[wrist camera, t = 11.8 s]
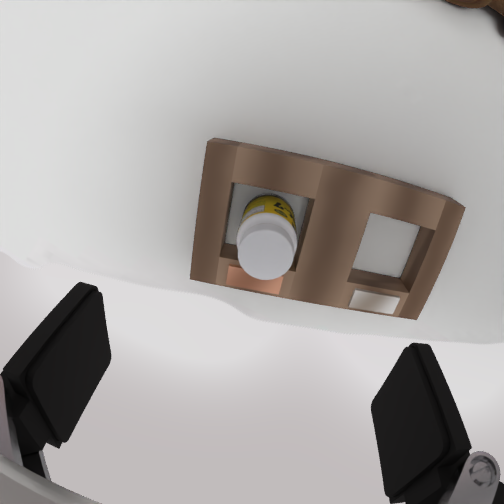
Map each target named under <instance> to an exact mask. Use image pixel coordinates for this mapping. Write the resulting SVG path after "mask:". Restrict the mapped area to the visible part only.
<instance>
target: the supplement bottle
mask: <svg viewBox="0 0 504 504" xmlns="http://www.w3.org/2000/svg"><path fill="white" fill-rule="evenodd" d="M236 242H237V249H238V260H239V263H240V265H241V267H242V268H243V269H244V271H245V272H246V273H248V274H249V275H250V276H252V277H254V278H257V279H261V280H271V279H275V278H278V277H280V276H282V275H284V274H285V273H286V272H287V271H288V270H289V268H290V267H291V265H292V262H293V258H294V254H295V252H296V248H297V233H296V225H295V218H294V213H293V210H292V208H291V206H290V205H289V203H288V202H287V201H286V200H285V199H283V198H282V197H280V196H278V195H274V194H263V195H259V196H257V197H255V198H254V199H252V200H251V201H250V202H249V203H248V205H247V206H246V208H245V211H244V214H243V217H242V220H241V223H240V226H239V229H238V232H237V239H236Z"/></svg>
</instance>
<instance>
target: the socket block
mask: <svg viewBox="0 0 504 504" xmlns="http://www.w3.org/2000/svg"><path fill="white" fill-rule="evenodd" d="M234 183H239V184H245V185H250V186H255V187H260V188H265V189H270V190H275V191H280V192H284V193H289V194H294V195H298V196H303V197H308V198H309V202H308V206H307V210H306V214H305V218H304V222H303V226H302V229H301V233H300V237H299V241H298V245H297V248H296V252H295V256H294V258H293V262H292V265H291V267H290V268H289V270H288V271H287V272H286V273H285V274H284V275H282V276H280V277H278V278H275V279H271V280H261V279H257V278H254V277H252V276H250V275H249V274H248V273H246V272H245V271H244V269H243V268H242V267H241V265H240V263H239V260H238V249H237V246H236V245H231V244H226V243H225V237H226V231H227V225H228V219H229V213H230V207H231V201H232V195H233V189H234ZM465 208H466V207H464V206H463V205H461V204H460V203H458V202H457V201H455V200H454V199H452V198H450V197H447V196H445V195H442V194H439V193H436V192H433V191H430V190H427V189H424V188H421V187H418V186H415V185H412V184H409V183H406V182H402V181H399V180H396V179H393V178H389V177H386V176H383V175H379V174H376V173H372V172H369V171H365V170H361V169H358V168H354V167H350V166H346V165H343V164H339V163H335V162H331V161H327V160H323V159H319V158H314V157H310V156H306V155H301V154H297V153H292V152H288V151H283V150H278V149H273V148H268V147H263V146H258V145H253V144H247V143H242V142H236V141H230V140H224V139H218V138H213V139H211V140H209V141H207V146H206V153H205V159H204V166H203V173H202V180H201V188H200V195H199V203H198V211H197V219H196V227H195V235H194V244H193V253H192V263H191V273H190V279H191V280H196V281H201V282H206V283H210V284H215V285H220V286H225V287H230V288H235V289H240V290H245V291H250V292H255V293H260V294H266V295H271V296H276V297H281V298H287V299H292V300H298V301H303V302H309V303H314V304H320V305H326V306H332V307H338V308H343V309H349V310H355V311H362V312H368V313H374V314H380V315H387V316H393V317H400V318H407V319H414V320H417V318H418V317H419V315H420V313H421V311H422V309H423V307H424V305H425V303H426V301H427V299H428V297H429V295H430V293H431V291H432V288H433V286H434V284H435V282H436V280H437V278H438V275H439V273H440V271H441V269H442V266H443V264H444V262H445V260H446V257H447V255H448V252H449V250H450V248H451V245H452V243H453V240H454V238H455V235H456V232H457V230H458V227H459V224H460V222H461V219H462V216H463V213H464V211H465ZM370 213H374V214H378V215H382V216H386V217H390V218H393V219H397V220H401V221H405V222H408V223H412V224H415V225H419V226H421V227H420V230H419V233H418V235H417V238H416V241H415V243H414V246H413V248H412V251H411V254H410V256H409V259H408V261H407V264H406V266H405V268H404V271H403V273H402V276H401V278H396V277H391V276H386V275H381V274H376V273H371V272H366V271H361V270H356V269H352V266H353V263H354V260H355V257H356V254H357V252H358V249H359V246H360V243H361V240H362V237H363V234H364V231H365V228H366V225H367V221H368V218H369V215H370Z"/></svg>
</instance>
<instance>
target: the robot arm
mask: <svg viewBox="0 0 504 504" xmlns="http://www.w3.org/2000/svg"><path fill="white" fill-rule="evenodd" d="M110 361H111V350H110V344H109V338H108V332H107V326H106V319H105V311H104V304H103V296H102V293H101V292H99V291H98V288H97V287H96V286H94V285H90V284H86V283H83V282H79V283H77V284H76V285H75V286H74V287H73V288H72V289H71V290H70V291H69V293H68V294H67V295H66V296H65V297H64V298H63V299H62V300H61V301H60V302H59V303H58V304H57V306H56V307H55V308H54V309H53V310H52V311H51V312H50V313H49V314H48V316H47V317H46V318H45V319H44V320H43V321H42V322H41V323H40V325H39V326H38V327H37V328H36V329H35V330H34V331H33V333H32V334H31V335H30V336H29V337H28V338H27V340H26V341H25V342H24V343H23V345H22V346H21V347H20V348H19V349H18V351H17V352H16V353H15V354H14V355H13V357H12V358H11V359H10V360H9V362H8V363H7V364H6V366H5V367H4V368H3V371H2V373H1V374H0V504H101V503H99V502H96V501H94V500H91V499H89V498H86V497H84V496H82V495H79V494H77V493H75V492H73V491H70V490H68V489H66V488H64V487H62V486H59V485H57V484H55V483H53V482H52V481H51V478H50V475H49V472H48V468H47V465H46V462H45V458H44V454H43V451H42V450H43V448H44V446H45V444H46V443H48V444H50V445H52V446H55V447H57V448H60V446H61V444H62V442H64V443H65V442H67V441H68V440H69V438H70V436H71V434H72V432H73V430H74V428H75V426H76V424H77V423H78V421H79V419H80V417H81V415H82V413H83V411H84V409H85V407H86V406H87V404H88V402H89V400H90V398H91V396H92V395H93V393H94V391H95V389H96V387H97V385H98V384H99V382H100V380H101V378H102V376H103V375H104V373H105V371H106V369H107V368H108V366H109V364H110ZM371 413H372V418H373V423H374V428H375V434H376V440H377V445H378V451H379V457H380V464H381V470H382V476H383V484H384V491H385V494H386V496H388V497H389V500H390V504H393V503H402V502H406V504H504V484H503V483H502V482H500V481H499V480H500V468H499V465H498V463H497V461H496V460H495V458H494V457H493V456H491V455H490V454H489V453H486V452H483V451H477V452H474V453H472V454H471V455H470V453H469V450H470V449H471V448H472V447H471V444H470V441H469V438H468V435H467V432H466V430H465V427H464V424H463V421H462V419H461V416H460V414H459V411H458V408H457V406H456V403H455V401H454V399H453V396H452V394H451V391H450V389H449V386H448V384H447V382H446V379H445V377H444V375H443V373H442V370H441V368H440V366H439V364H438V361H437V360H436V357H435V355H434V353H433V351H432V348H431V347H430V345H428V344H422V343H412V344H410V345H409V347H406V348H405V349H404V350H403V352H402V353H401V355H400V357H399V359H398V360H397V362H396V364H395V366H394V367H393V369H392V371H391V372H390V374H389V376H388V377H387V379H386V380H385V382H384V384H383V385H382V387H381V388H380V390H379V391H378V393H377V395H376V396H375V398H374V399H373V401H372V404H371Z"/></svg>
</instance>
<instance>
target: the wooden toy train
mask: <svg viewBox="0 0 504 504" xmlns="http://www.w3.org/2000/svg"><path fill="white" fill-rule="evenodd" d="M445 1H448V2H450V3H452V4H455V5H458V6H462V7H467V8H482V7H485V6H487V5H488V6H490V7H491V8H493V9H494V10H496V11H497V12H499V13H500V14H501V15H503V16H504V0H445Z"/></svg>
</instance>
